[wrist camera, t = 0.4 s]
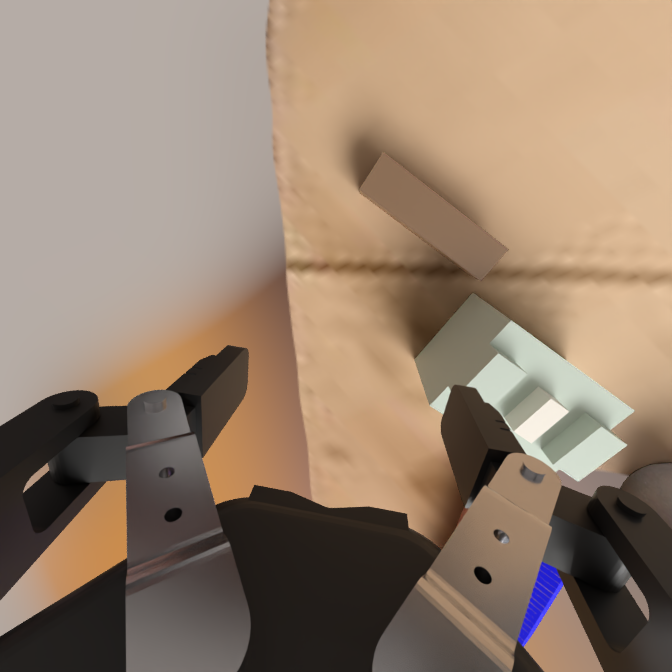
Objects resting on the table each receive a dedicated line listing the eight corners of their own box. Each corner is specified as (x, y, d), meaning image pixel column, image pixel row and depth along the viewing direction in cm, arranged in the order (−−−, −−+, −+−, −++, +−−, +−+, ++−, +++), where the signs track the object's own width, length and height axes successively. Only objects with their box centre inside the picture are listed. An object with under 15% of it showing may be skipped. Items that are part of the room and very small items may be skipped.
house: (436, 568, 51) (455, 664, 40) (474, 472, 44) (509, 558, 33) (511, 583, 50) (552, 684, 39) (562, 488, 43) (628, 580, 32)
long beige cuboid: (381, 161, 31) (383, 151, 27) (488, 244, 33) (508, 249, 29) (360, 193, 33) (359, 189, 28) (465, 272, 34) (480, 281, 30)
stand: (472, 292, 35) (523, 328, 24) (566, 361, 37) (654, 425, 25) (414, 359, 38) (433, 418, 27) (502, 419, 40) (555, 498, 29)
